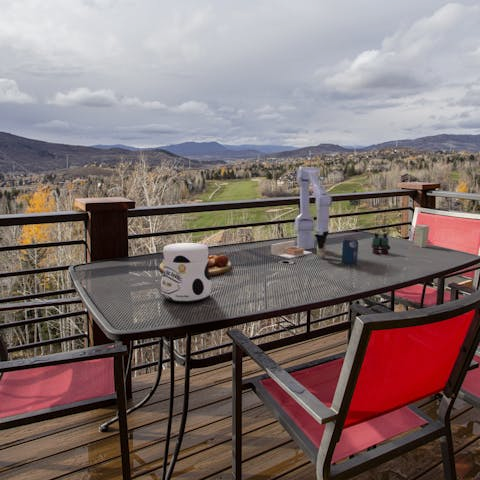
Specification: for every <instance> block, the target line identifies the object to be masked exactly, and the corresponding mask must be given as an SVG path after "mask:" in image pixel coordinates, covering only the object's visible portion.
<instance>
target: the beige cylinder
mask: <svg viewBox="0 0 480 480" xmlns="http://www.w3.org/2000/svg"><path fill="white" fill-rule="evenodd" d="M326 248H327V247H326V243H325V244H324V246H323V249H318V243H317V247H316V259H320V260H324V259H326Z"/></svg>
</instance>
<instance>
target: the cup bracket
mask: <svg viewBox="0 0 480 480" xmlns="http://www.w3.org/2000/svg"><path fill="white" fill-rule="evenodd" d="M295 246H296V240H290V241H289V240H288V241H283V242H278V243H274V244H271V246H270V247H271V250H270V255H273V256H278V257H281V258H285V259H295V258H298V257H303V256H307V255H312V254H313V252H312V251H308V250H304V248H299V247H295Z"/></svg>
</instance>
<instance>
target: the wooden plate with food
mask: <svg viewBox="0 0 480 480" xmlns="http://www.w3.org/2000/svg"><path fill="white" fill-rule="evenodd" d="M208 258H209V275H210V277H211V276H216V275H219V274H223V273H227V272H228V271H230V269H232V262H230V260H229V257H228V256H226V254H219V255H215V254H213V255H212V254H211V255H210V254H209V257H208ZM158 269H159V271H160V272H161V273H163V261H162V262H161V263H160V264H159V266H158Z"/></svg>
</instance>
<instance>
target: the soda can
mask: <svg viewBox="0 0 480 480" xmlns="http://www.w3.org/2000/svg"><path fill="white" fill-rule="evenodd" d="M341 249H342V252H341V253H342V254H341V262H342V264H343V265H344V264H345V266H350V265H352V266H355V265H356V264H357V263H358V254H359V253H358V251H359V241H358V239H357V238H356V237H355V238H354V237H344V240H343V241H342V248H341Z"/></svg>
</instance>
